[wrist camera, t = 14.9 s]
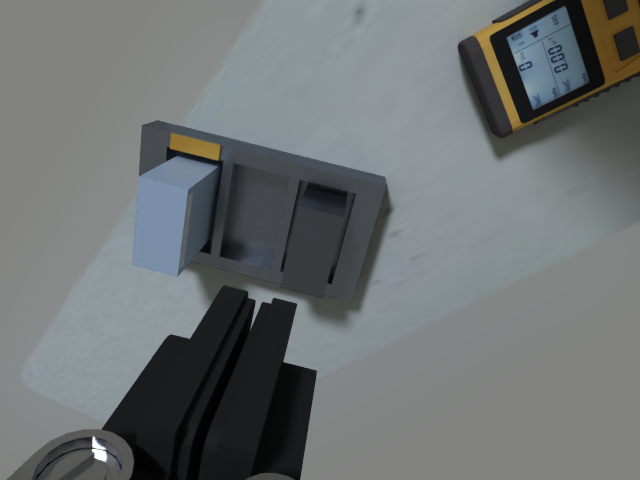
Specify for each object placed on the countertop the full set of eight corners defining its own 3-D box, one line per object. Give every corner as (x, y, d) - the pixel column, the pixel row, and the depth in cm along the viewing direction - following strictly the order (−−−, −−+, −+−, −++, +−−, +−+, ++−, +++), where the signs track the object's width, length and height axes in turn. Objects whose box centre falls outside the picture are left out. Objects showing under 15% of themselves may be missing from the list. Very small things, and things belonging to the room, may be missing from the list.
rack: (157, 120, 38) (115, 133, 31) (385, 176, 38) (388, 201, 31) (148, 235, 42) (110, 267, 36) (352, 286, 42) (350, 327, 36)
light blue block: (182, 152, 38) (138, 176, 30) (223, 163, 38) (188, 189, 30) (174, 226, 40) (131, 264, 33) (212, 236, 40) (177, 276, 33)
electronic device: (702, 35, 32) (739, 33, 29) (492, 137, 36) (505, 145, 33) (676, -86, 29) (713, -102, 26) (453, 38, 33) (462, 37, 30)
